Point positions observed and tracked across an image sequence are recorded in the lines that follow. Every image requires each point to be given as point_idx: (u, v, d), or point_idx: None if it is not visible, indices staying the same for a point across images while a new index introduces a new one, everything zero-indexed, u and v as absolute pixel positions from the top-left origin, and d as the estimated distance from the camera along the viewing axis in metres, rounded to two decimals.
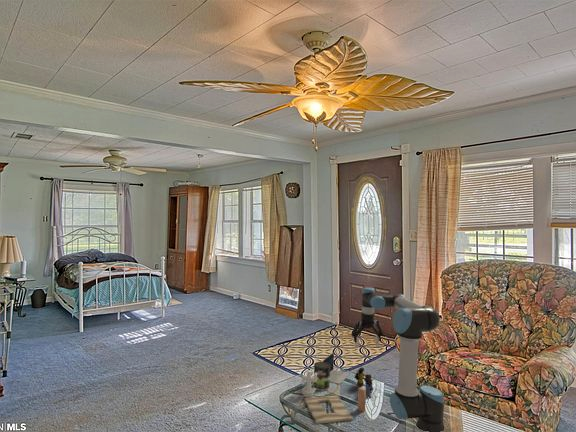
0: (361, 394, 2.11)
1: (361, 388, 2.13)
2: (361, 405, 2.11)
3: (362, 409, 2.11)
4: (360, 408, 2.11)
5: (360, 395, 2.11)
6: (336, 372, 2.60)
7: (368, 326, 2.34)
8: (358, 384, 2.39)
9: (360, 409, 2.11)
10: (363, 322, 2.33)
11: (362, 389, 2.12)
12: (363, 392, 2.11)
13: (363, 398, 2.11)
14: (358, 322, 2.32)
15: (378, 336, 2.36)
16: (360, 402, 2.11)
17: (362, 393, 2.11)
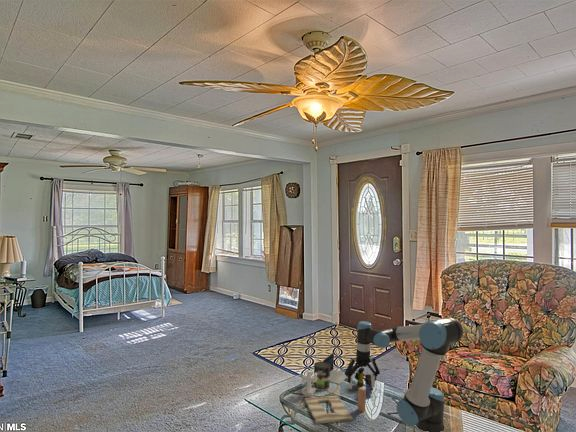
0: (361, 394, 2.11)
1: (361, 388, 2.13)
2: (361, 405, 2.11)
3: (362, 409, 2.11)
4: (360, 408, 2.11)
5: (360, 395, 2.11)
6: (336, 372, 2.60)
7: (364, 364, 2.11)
8: (358, 384, 2.39)
9: (360, 409, 2.11)
10: (358, 360, 2.11)
11: (362, 389, 2.12)
12: (363, 392, 2.11)
13: (363, 398, 2.11)
14: (352, 360, 2.10)
15: (374, 375, 2.14)
16: (360, 402, 2.11)
17: (362, 393, 2.11)
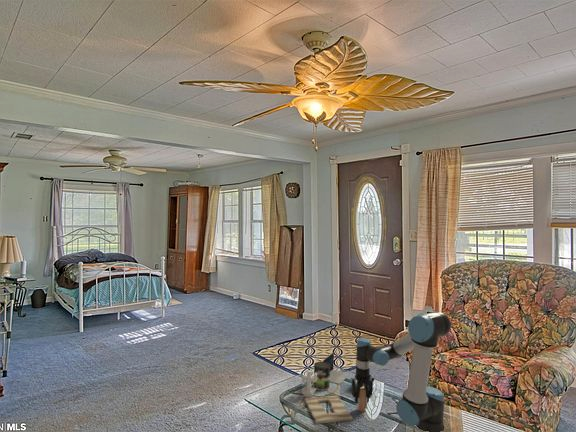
0: (361, 394, 2.11)
1: (361, 388, 2.13)
2: (361, 405, 2.11)
3: (362, 409, 2.11)
4: (360, 408, 2.11)
5: (360, 395, 2.11)
6: (336, 372, 2.60)
7: (363, 382, 2.12)
8: None
9: (360, 409, 2.11)
10: (357, 377, 2.11)
11: (362, 389, 2.12)
12: (363, 392, 2.11)
13: (363, 398, 2.11)
14: (352, 381, 2.10)
15: (366, 396, 2.13)
16: (360, 402, 2.11)
17: (362, 393, 2.11)
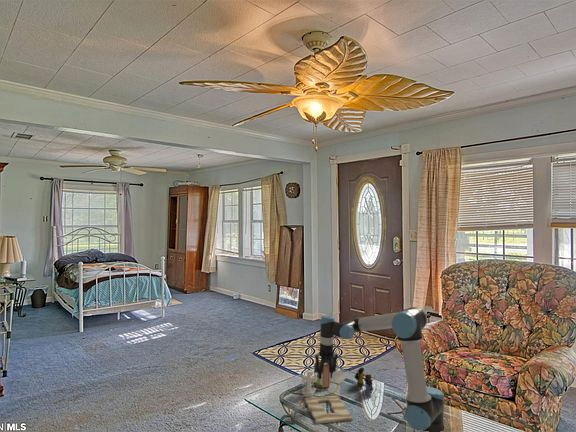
0: (325, 370, 2.14)
1: (325, 364, 2.17)
2: (324, 381, 2.15)
3: (326, 384, 2.15)
4: (323, 383, 2.15)
5: (323, 370, 2.15)
6: (336, 372, 2.60)
7: (327, 358, 2.15)
8: (358, 384, 2.39)
9: (323, 384, 2.15)
10: (321, 353, 2.14)
11: (326, 365, 2.16)
12: (326, 368, 2.14)
13: (326, 373, 2.15)
14: (316, 356, 2.13)
15: (330, 372, 2.16)
16: (323, 377, 2.15)
17: (325, 369, 2.14)
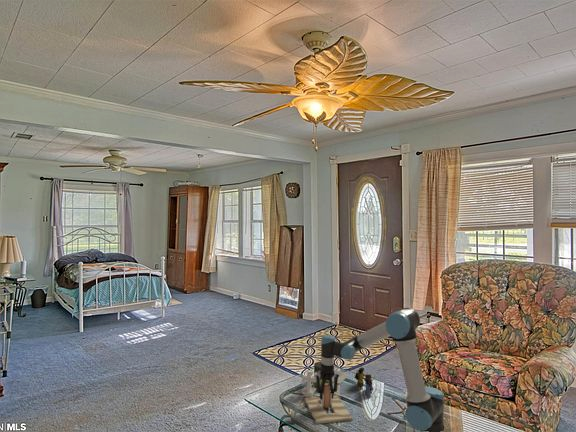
0: (326, 390, 2.12)
1: (326, 384, 2.15)
2: (326, 401, 2.12)
3: (327, 405, 2.12)
4: (324, 404, 2.13)
5: (324, 391, 2.13)
6: (336, 372, 2.60)
7: (328, 378, 2.13)
8: (358, 384, 2.39)
9: (324, 405, 2.13)
10: (322, 374, 2.12)
11: (327, 385, 2.14)
12: (327, 388, 2.12)
13: (327, 394, 2.12)
14: (317, 377, 2.11)
15: (331, 392, 2.14)
16: (324, 398, 2.13)
17: (326, 389, 2.12)
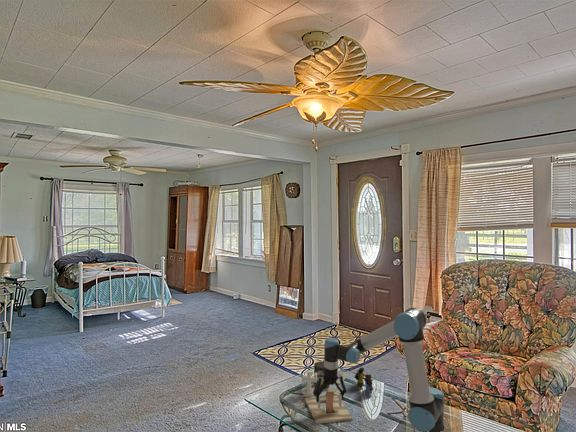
0: (329, 397, 2.07)
1: (329, 391, 2.09)
2: (329, 408, 2.07)
3: (330, 412, 2.07)
4: (328, 411, 2.07)
5: (328, 398, 2.07)
6: None
7: (331, 382, 2.07)
8: (358, 384, 2.39)
9: (328, 412, 2.07)
10: (325, 378, 2.07)
11: (330, 392, 2.08)
12: (331, 395, 2.07)
13: (331, 401, 2.07)
14: (319, 379, 2.06)
15: (341, 394, 2.09)
16: (328, 405, 2.07)
17: (330, 396, 2.07)
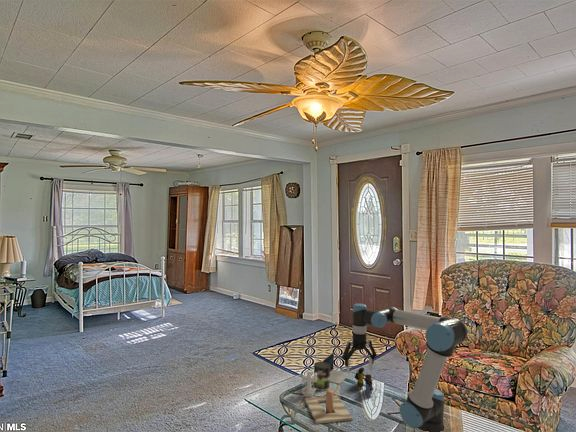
0: (329, 397, 2.07)
1: (329, 391, 2.09)
2: (329, 408, 2.07)
3: (330, 412, 2.07)
4: (328, 411, 2.07)
5: (328, 398, 2.07)
6: (336, 372, 2.60)
7: (360, 347, 2.08)
8: (358, 384, 2.39)
9: (328, 412, 2.07)
10: (355, 343, 2.08)
11: (330, 392, 2.08)
12: (331, 395, 2.07)
13: (331, 401, 2.07)
14: (349, 343, 2.06)
15: (372, 358, 2.10)
16: (328, 405, 2.07)
17: (330, 396, 2.07)
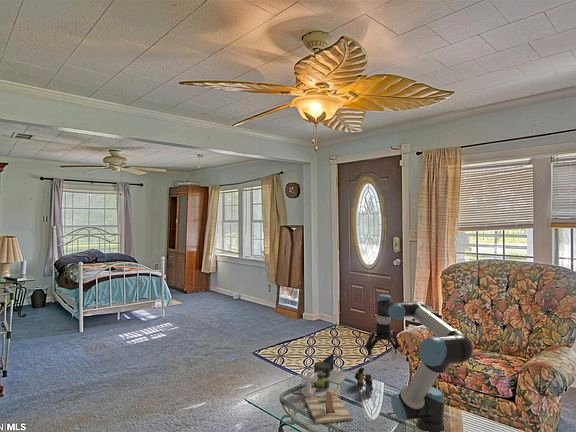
0: (329, 397, 2.07)
1: (329, 391, 2.09)
2: (329, 408, 2.07)
3: (330, 412, 2.07)
4: (328, 411, 2.07)
5: (328, 398, 2.07)
6: (336, 372, 2.60)
7: (384, 337, 2.10)
8: (358, 384, 2.39)
9: (328, 412, 2.07)
10: (378, 333, 2.09)
11: (330, 392, 2.08)
12: (331, 395, 2.07)
13: (331, 401, 2.07)
14: (373, 333, 2.08)
15: (395, 348, 2.12)
16: (328, 405, 2.07)
17: (330, 396, 2.07)
